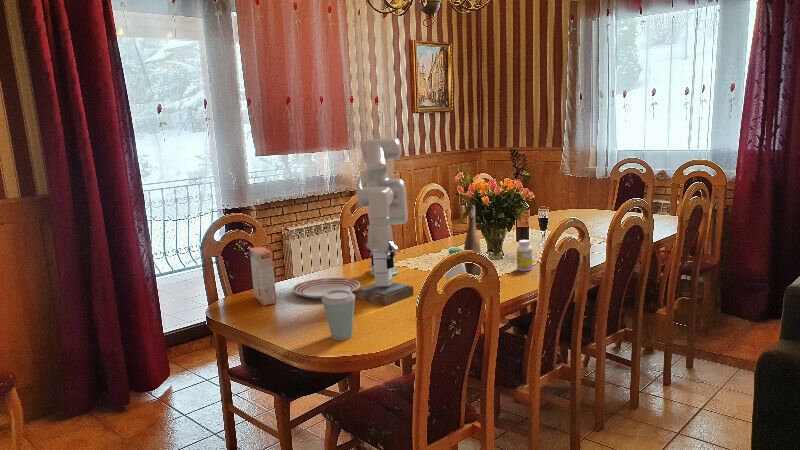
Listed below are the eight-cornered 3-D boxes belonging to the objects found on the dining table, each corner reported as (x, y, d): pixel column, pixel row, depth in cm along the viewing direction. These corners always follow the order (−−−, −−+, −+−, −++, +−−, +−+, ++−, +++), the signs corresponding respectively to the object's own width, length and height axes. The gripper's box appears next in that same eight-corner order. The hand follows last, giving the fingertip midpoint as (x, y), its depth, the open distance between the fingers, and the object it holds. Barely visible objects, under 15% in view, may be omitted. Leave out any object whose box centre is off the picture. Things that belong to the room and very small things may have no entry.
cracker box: (277, 303, 232) (272, 251, 228) (262, 306, 229) (257, 253, 225) (268, 295, 244) (263, 245, 240) (253, 297, 241) (248, 247, 238)
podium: (355, 299, 232) (355, 289, 231) (384, 289, 243) (383, 279, 242) (385, 306, 221) (384, 295, 220) (413, 295, 232) (413, 285, 232)
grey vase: (456, 283, 246) (453, 207, 239) (463, 275, 257) (460, 202, 250) (483, 285, 242) (480, 208, 235) (488, 276, 253) (486, 202, 246)
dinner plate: (338, 280, 262) (338, 272, 261) (373, 292, 240) (373, 284, 239) (281, 293, 246) (281, 285, 245) (313, 308, 224) (312, 299, 224)
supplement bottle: (516, 267, 264) (515, 239, 262) (531, 267, 264) (530, 238, 262) (518, 271, 258) (517, 242, 255) (533, 271, 257) (533, 242, 255)
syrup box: (389, 285, 228) (387, 249, 225) (374, 285, 229) (372, 249, 226) (392, 281, 233) (390, 245, 231) (378, 281, 234) (375, 245, 232)
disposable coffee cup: (363, 332, 194) (360, 288, 192) (348, 344, 185) (344, 298, 182) (335, 329, 199) (332, 286, 196) (318, 341, 189) (314, 296, 186)
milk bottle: (446, 304, 219) (443, 251, 215) (447, 298, 226) (445, 246, 223) (467, 304, 217) (465, 251, 214) (467, 297, 225) (465, 246, 221)
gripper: (357, 221, 230) (360, 266, 233) (389, 225, 218) (392, 272, 221) (370, 218, 235) (373, 261, 238) (403, 222, 224) (405, 267, 227)
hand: (382, 266), depth 230 cm, fingers closed on syrup box, 7 cm apart
